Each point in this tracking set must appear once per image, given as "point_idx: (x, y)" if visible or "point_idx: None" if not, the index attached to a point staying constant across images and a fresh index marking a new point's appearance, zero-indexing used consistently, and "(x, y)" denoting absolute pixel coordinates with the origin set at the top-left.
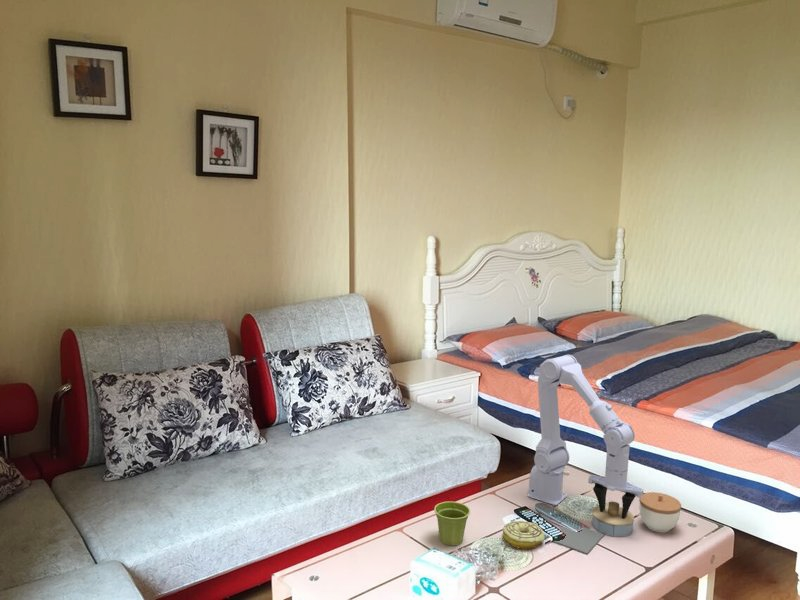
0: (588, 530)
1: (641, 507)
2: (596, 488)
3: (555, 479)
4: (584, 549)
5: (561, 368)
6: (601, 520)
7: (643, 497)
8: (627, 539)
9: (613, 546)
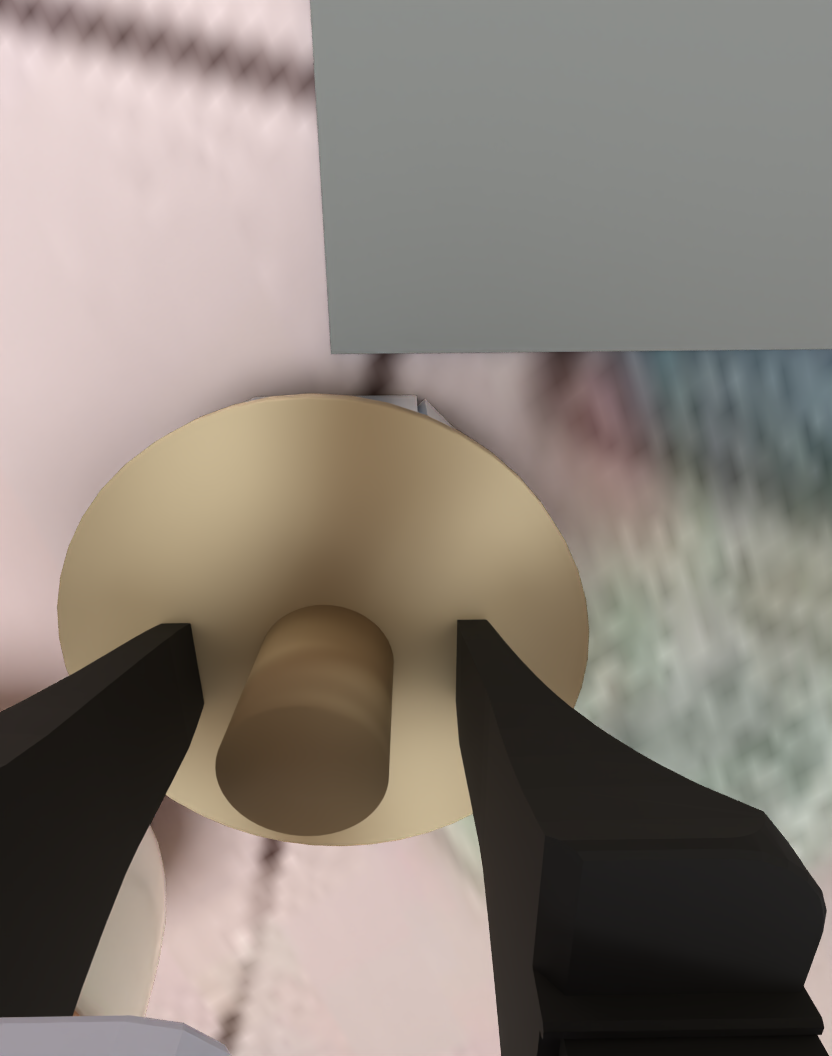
0: (511, 308)
1: None
2: (725, 927)
3: None
4: None
5: None
6: (380, 403)
7: None
8: (113, 440)
9: (140, 168)
